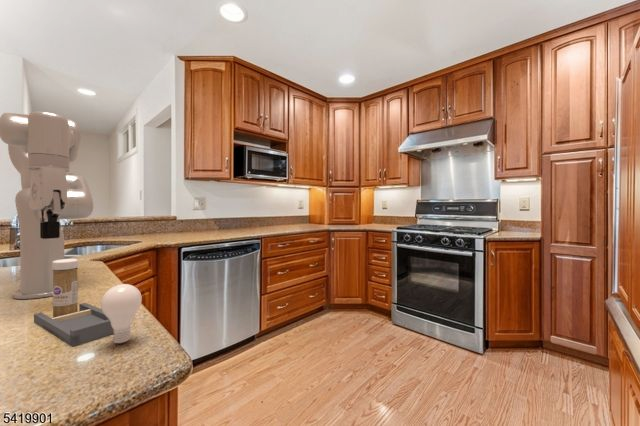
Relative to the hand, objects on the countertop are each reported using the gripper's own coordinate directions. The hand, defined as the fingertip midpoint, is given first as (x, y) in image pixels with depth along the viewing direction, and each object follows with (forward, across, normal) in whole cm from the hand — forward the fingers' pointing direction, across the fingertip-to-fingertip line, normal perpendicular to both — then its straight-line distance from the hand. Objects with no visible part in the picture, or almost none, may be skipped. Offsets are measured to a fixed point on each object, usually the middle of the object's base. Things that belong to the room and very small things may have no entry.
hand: (50, 238), depth 72 cm
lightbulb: (+19, +34, +1) cm, 39 cm away
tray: (+18, +17, 0) cm, 25 cm away
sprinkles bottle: (+18, +9, 0) cm, 20 cm away
